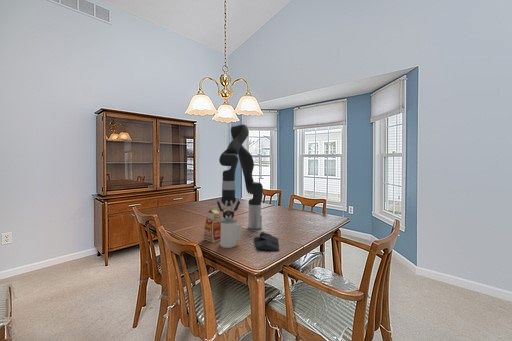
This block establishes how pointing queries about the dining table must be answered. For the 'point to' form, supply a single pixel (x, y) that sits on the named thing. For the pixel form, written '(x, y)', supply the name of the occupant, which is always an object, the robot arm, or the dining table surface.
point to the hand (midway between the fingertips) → (228, 217)
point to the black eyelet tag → (266, 242)
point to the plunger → (228, 213)
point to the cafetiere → (229, 232)
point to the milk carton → (212, 226)
